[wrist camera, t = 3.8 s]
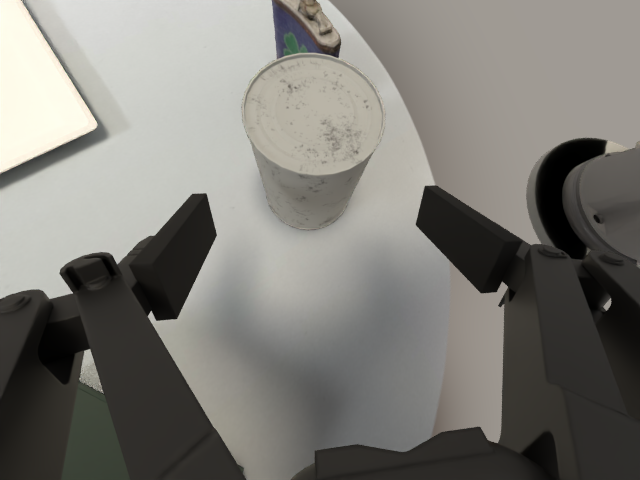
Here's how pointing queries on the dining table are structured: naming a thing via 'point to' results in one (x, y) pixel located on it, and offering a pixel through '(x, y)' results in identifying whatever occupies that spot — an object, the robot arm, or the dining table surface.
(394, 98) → the dining table surface
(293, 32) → the flask
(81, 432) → the bin
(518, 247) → the robot arm
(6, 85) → the white flat square slab
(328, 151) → the white speckled cylinder
